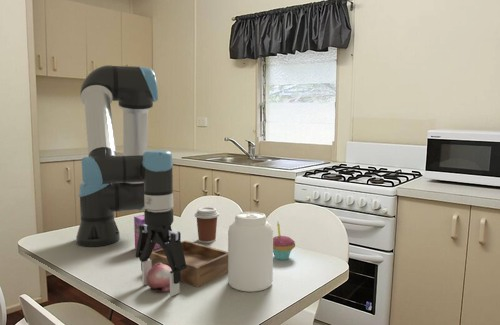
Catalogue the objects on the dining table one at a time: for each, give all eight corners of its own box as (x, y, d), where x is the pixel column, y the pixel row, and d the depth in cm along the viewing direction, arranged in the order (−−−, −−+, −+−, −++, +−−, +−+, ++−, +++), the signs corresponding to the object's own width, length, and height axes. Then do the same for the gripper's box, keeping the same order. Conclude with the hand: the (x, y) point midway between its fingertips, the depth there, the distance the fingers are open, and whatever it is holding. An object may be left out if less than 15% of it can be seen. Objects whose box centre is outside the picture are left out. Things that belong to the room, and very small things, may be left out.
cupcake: (263, 257, 134) (264, 222, 133) (279, 251, 141) (280, 217, 139) (284, 263, 129) (284, 227, 127) (300, 257, 135) (300, 222, 133)
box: (142, 252, 138) (141, 219, 137) (134, 248, 142) (133, 216, 141) (168, 246, 145) (168, 214, 144) (161, 242, 149) (160, 211, 148)
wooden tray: (149, 270, 123) (149, 252, 122) (185, 256, 135) (185, 240, 134) (197, 287, 111) (197, 267, 111) (231, 270, 123) (231, 252, 122)
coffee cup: (192, 243, 148) (191, 211, 147) (198, 236, 157) (197, 205, 156) (216, 244, 147) (216, 212, 146) (221, 237, 156) (221, 206, 155)
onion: (155, 285, 114) (161, 260, 115) (178, 292, 112) (184, 266, 113) (138, 287, 107) (145, 260, 108) (162, 295, 104) (169, 267, 105)
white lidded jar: (278, 289, 110) (280, 218, 107) (234, 295, 106) (234, 221, 104) (264, 272, 122) (264, 207, 119) (223, 277, 118) (223, 210, 116)
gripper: (120, 205, 111) (122, 282, 113) (178, 218, 97) (179, 305, 100) (142, 200, 117) (144, 274, 119) (200, 212, 103) (201, 295, 106)
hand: (160, 288), depth 110 cm, fingers open, 10 cm apart
